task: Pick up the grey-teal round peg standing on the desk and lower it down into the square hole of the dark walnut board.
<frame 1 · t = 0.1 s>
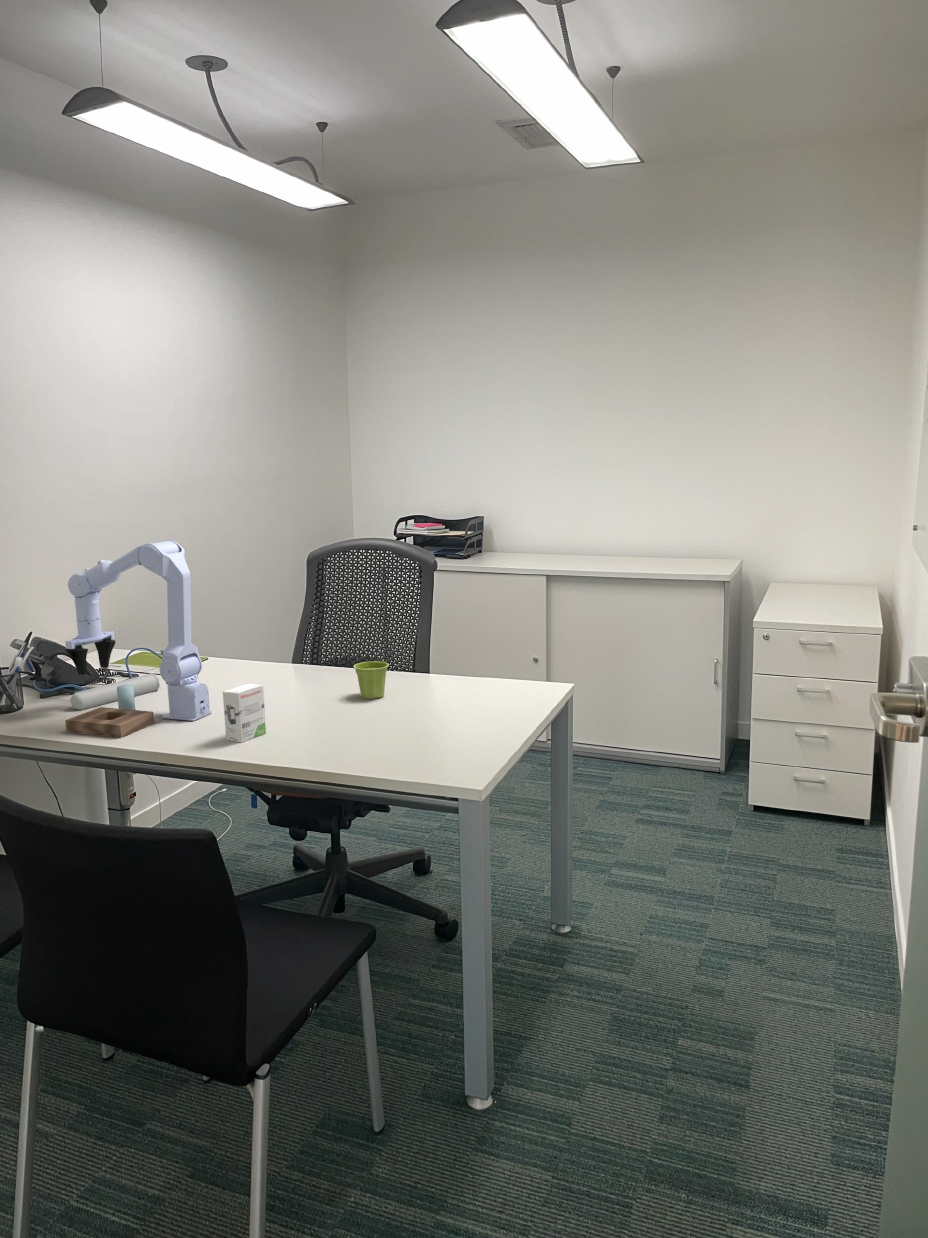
hand: (93, 670, 240), 10 cm above the table, tool pointing down, fingers open, 7 cm apart
socket board: (111, 727, 223), on the table
ink box: (246, 737, 214), on the table
plant pot: (372, 697, 248), on the table
peg: (127, 713, 236), on the table
tube: (115, 701, 249), on the table
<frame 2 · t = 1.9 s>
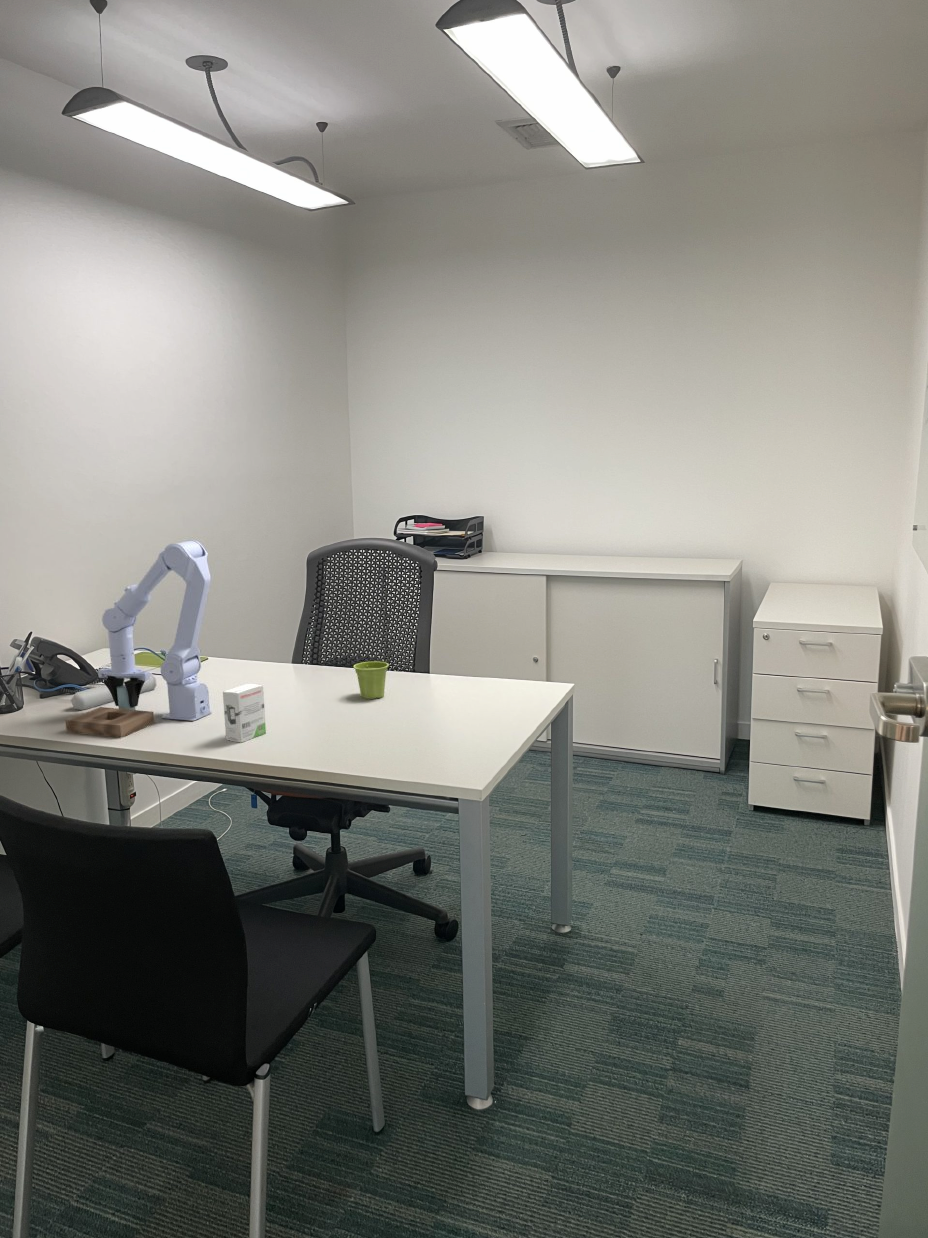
hand: (126, 705, 236), 2 cm above the table, tool pointing down, fingers closed on peg, 4 cm apart
peg: (127, 713, 236), on the table, touching gripper
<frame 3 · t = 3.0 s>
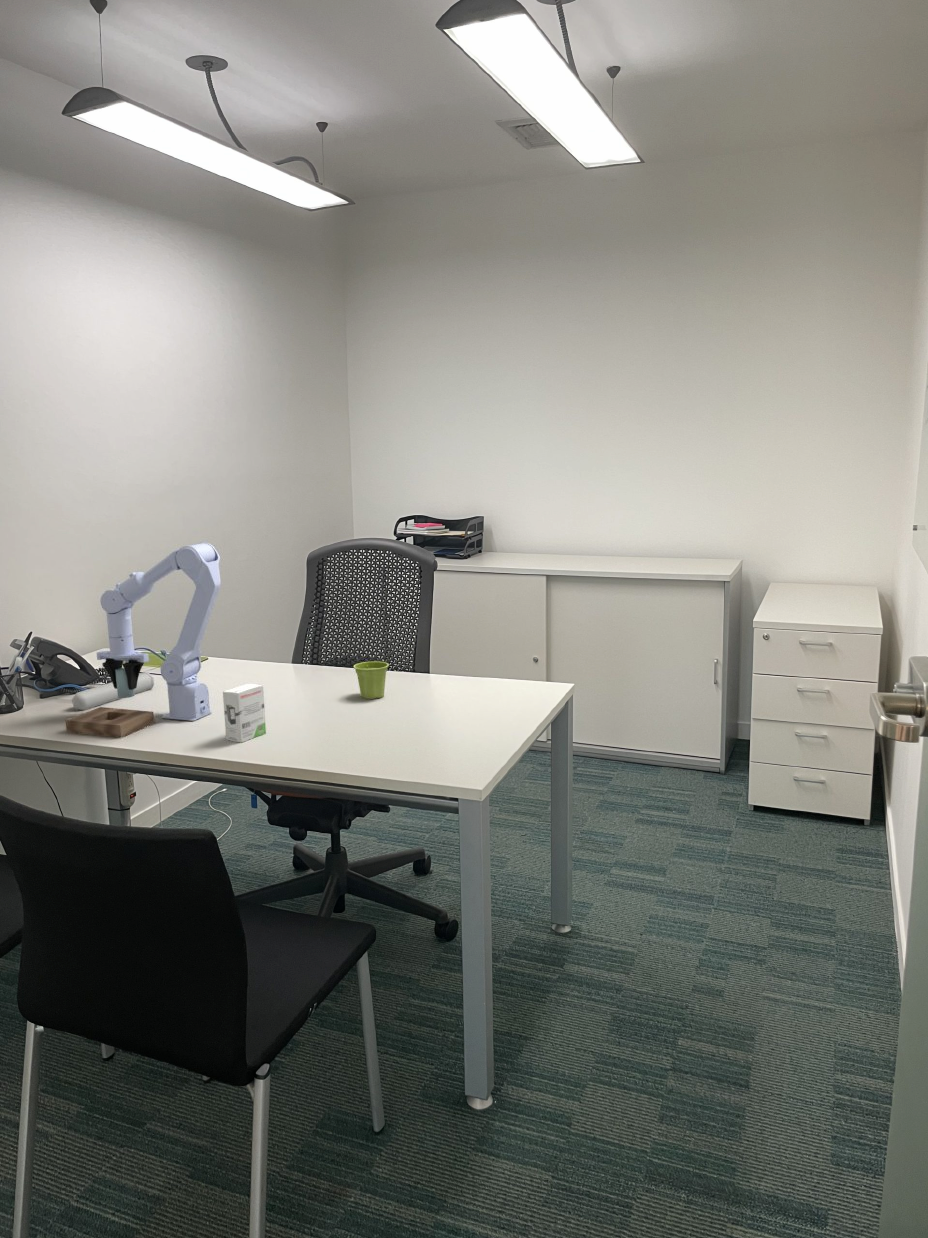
hand: (125, 688, 235), 7 cm above the table, tool pointing down, fingers closed on peg, 4 cm apart
peg: (126, 696, 235), point 5 cm above the table, touching gripper
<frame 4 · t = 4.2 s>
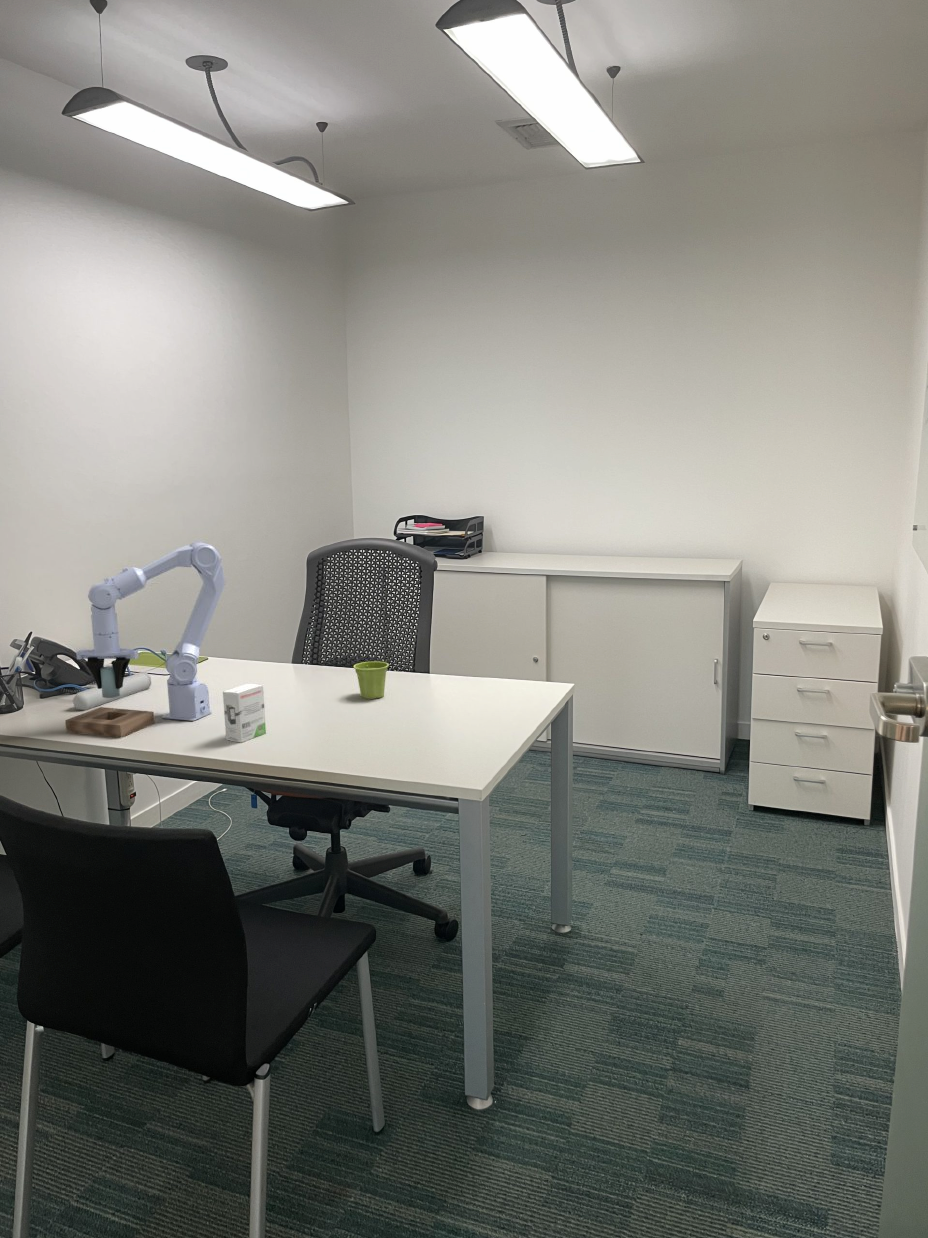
hand: (110, 687, 224), 9 cm above the table, tool pointing down, fingers closed on peg, 4 cm apart
peg: (111, 695, 224), point 7 cm above the table, touching gripper
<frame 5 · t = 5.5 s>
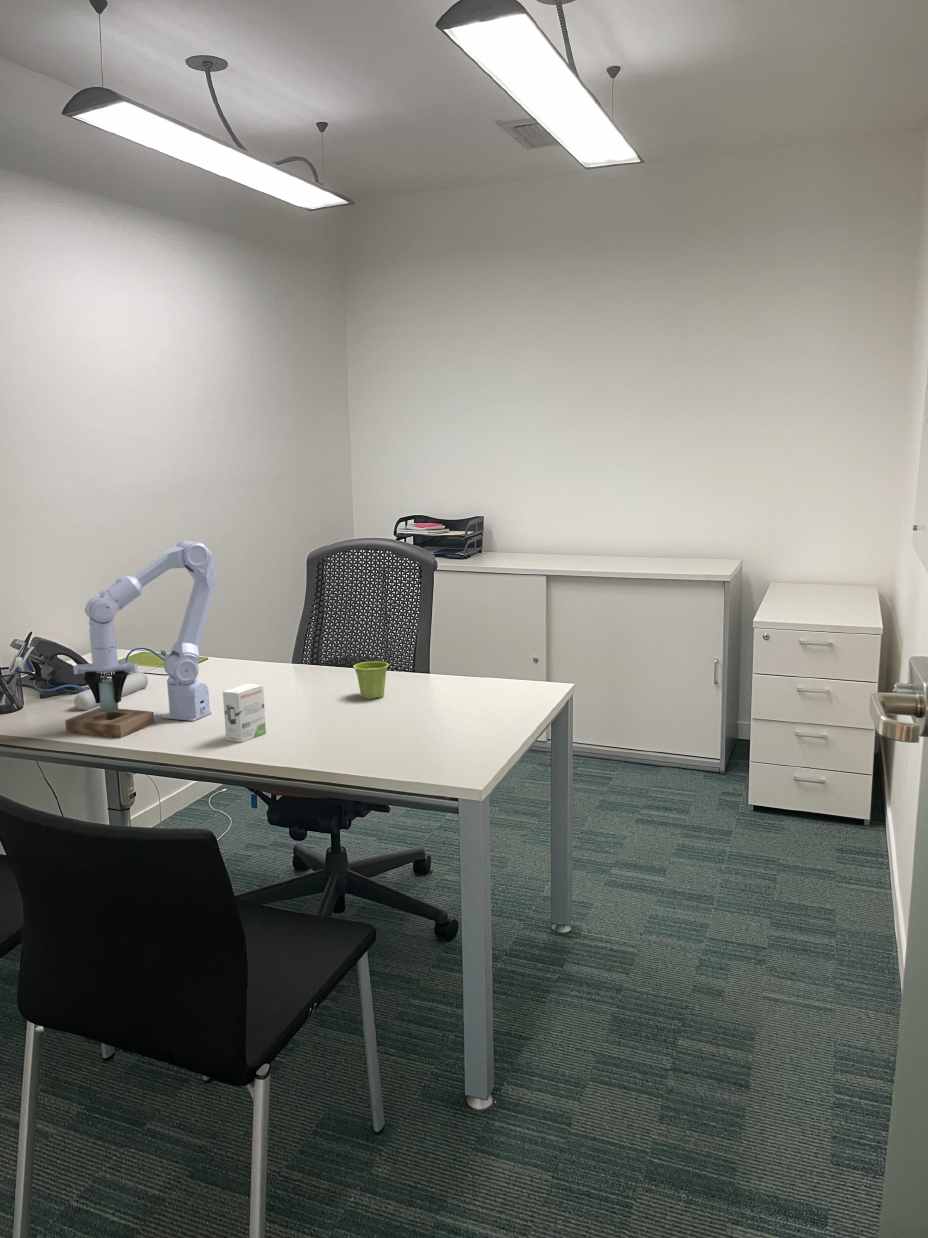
hand: (108, 702, 222), 6 cm above the table, tool pointing down, fingers closed on peg, 4 cm apart
peg: (109, 710, 223), point 4 cm above the table, touching gripper
when the fingers open (4 cm above the table, at t = 6.5 s): peg drops 2 cm, resting in socket board.
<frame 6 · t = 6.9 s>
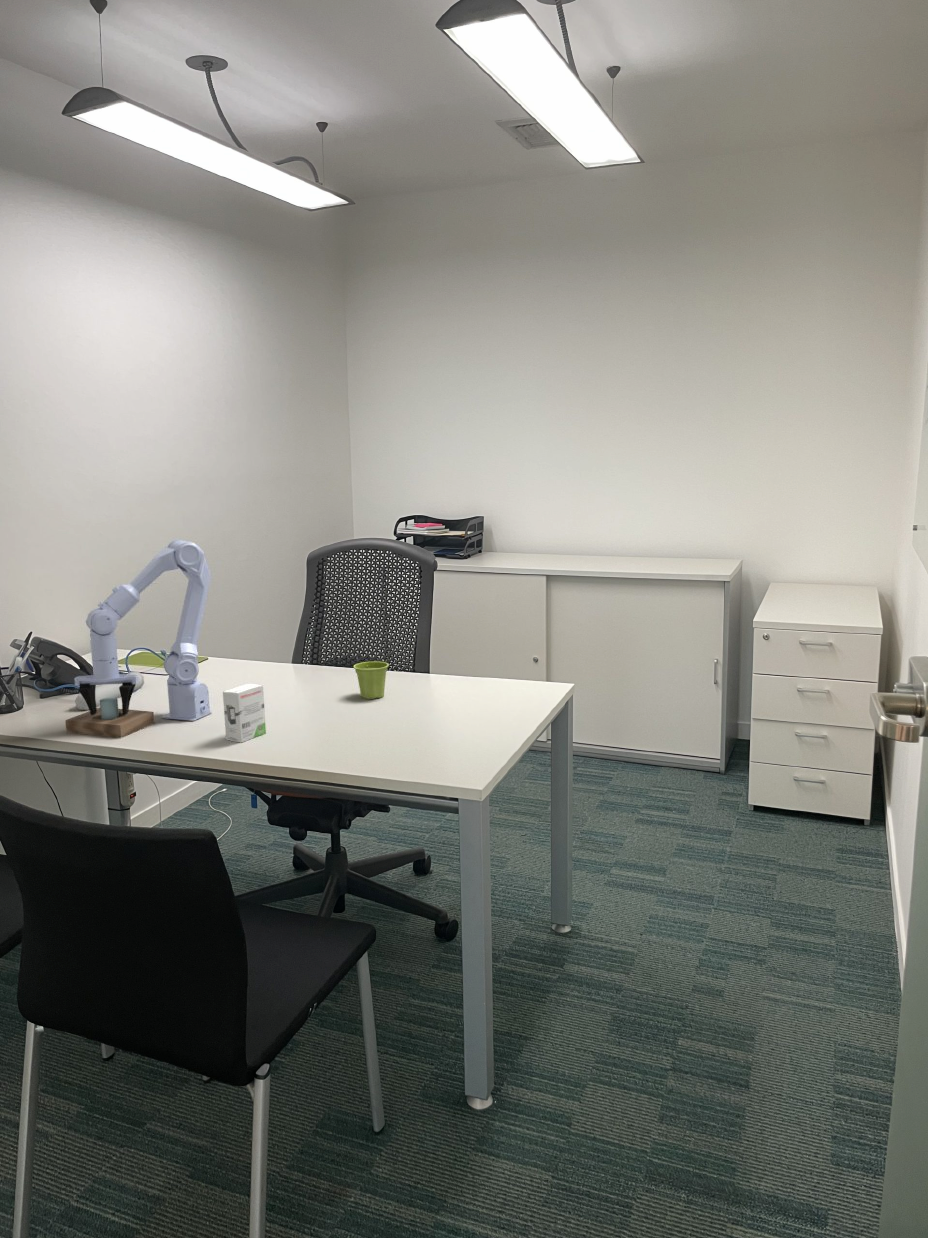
hand: (109, 713, 223), 4 cm above the table, tool pointing down, fingers open, 7 cm apart
peg: (111, 727, 223), resting in socket board
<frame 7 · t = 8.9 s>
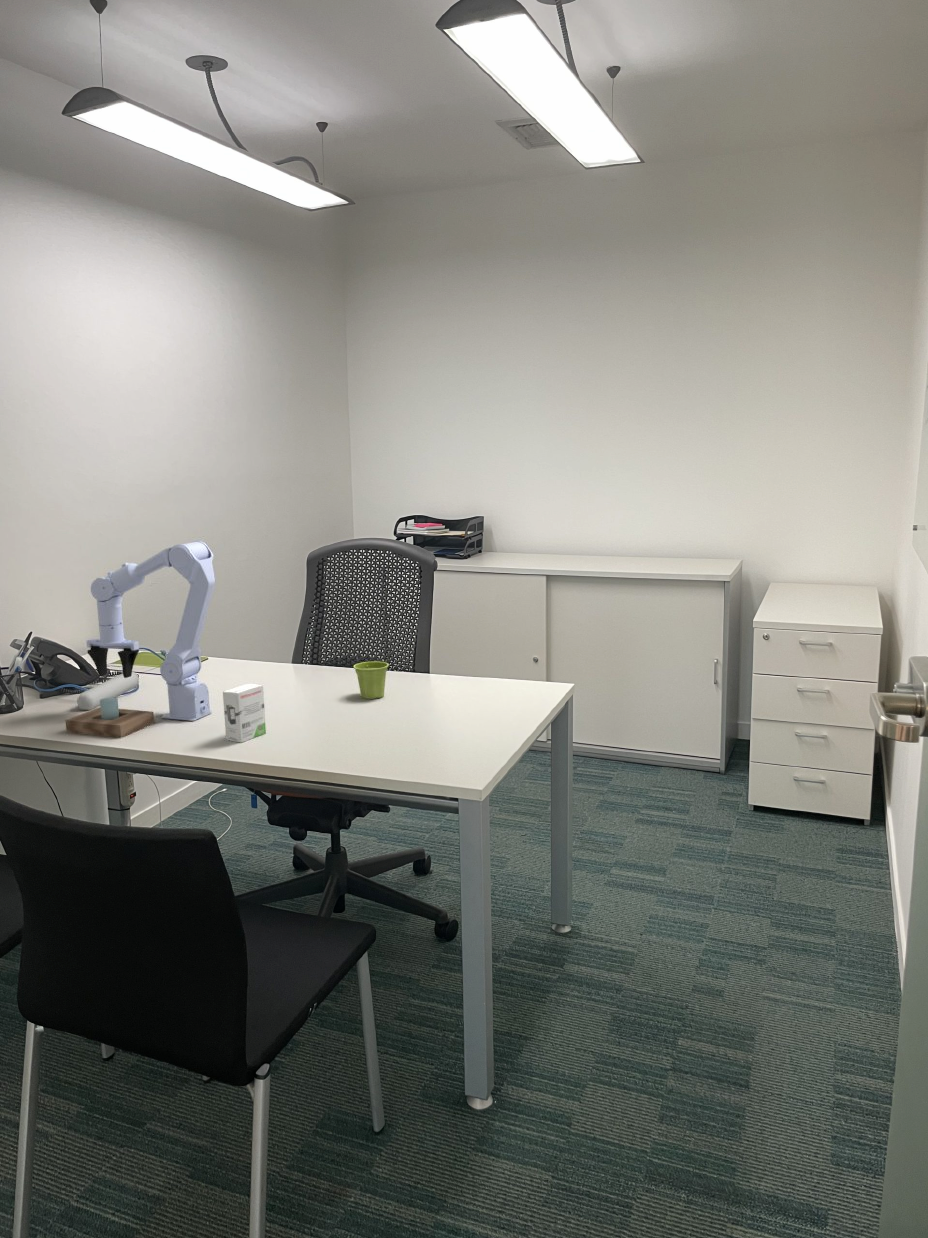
hand: (115, 676, 236), 9 cm above the table, tool pointing down, fingers open, 7 cm apart
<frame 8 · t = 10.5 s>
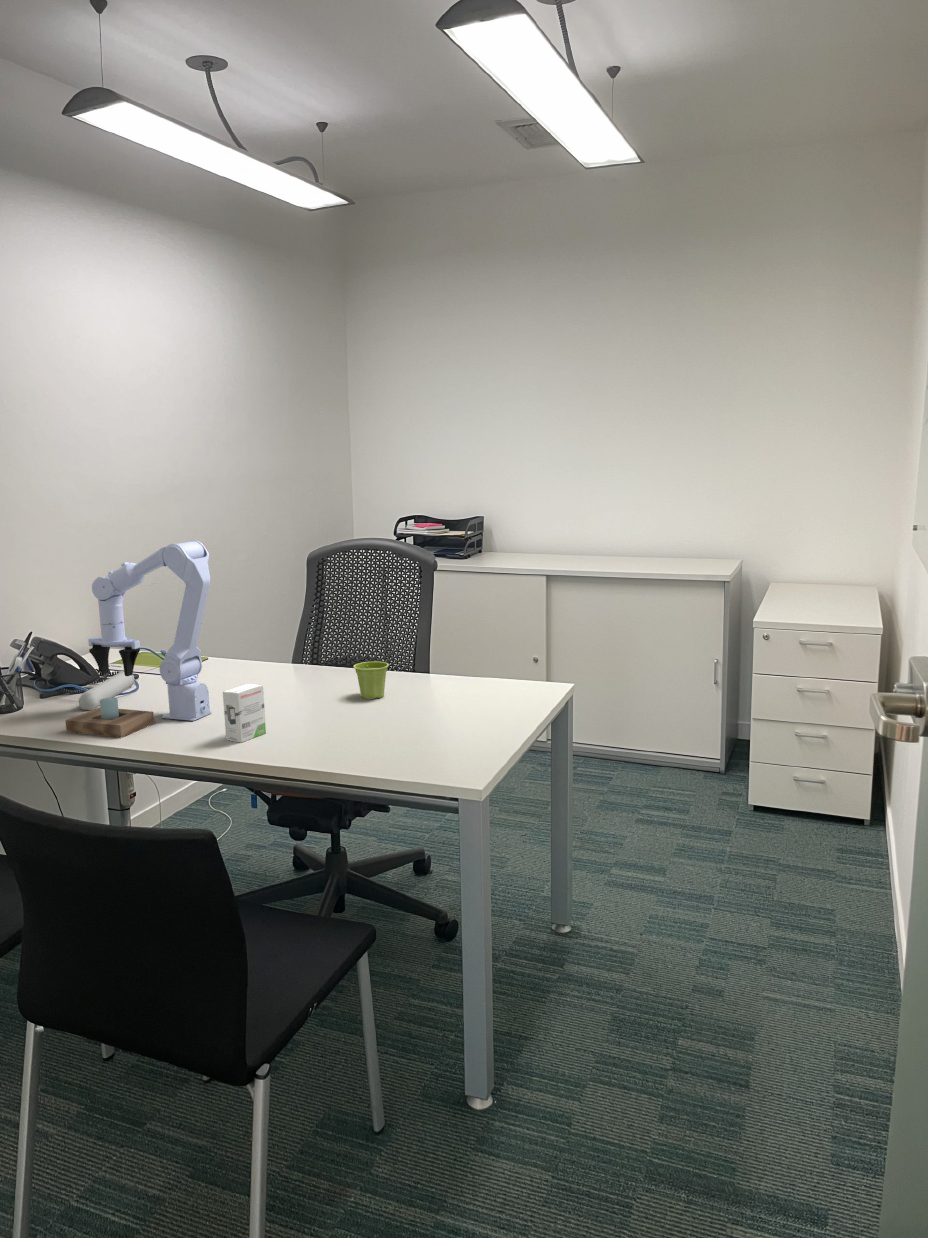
hand: (116, 674, 238), 9 cm above the table, tool pointing down, fingers open, 7 cm apart
at the end: peg 0.1 cm off-centre on the socket board, point 0.0 cm above the socket board's base; peg tilted 0°; the gripper is holding nothing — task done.
